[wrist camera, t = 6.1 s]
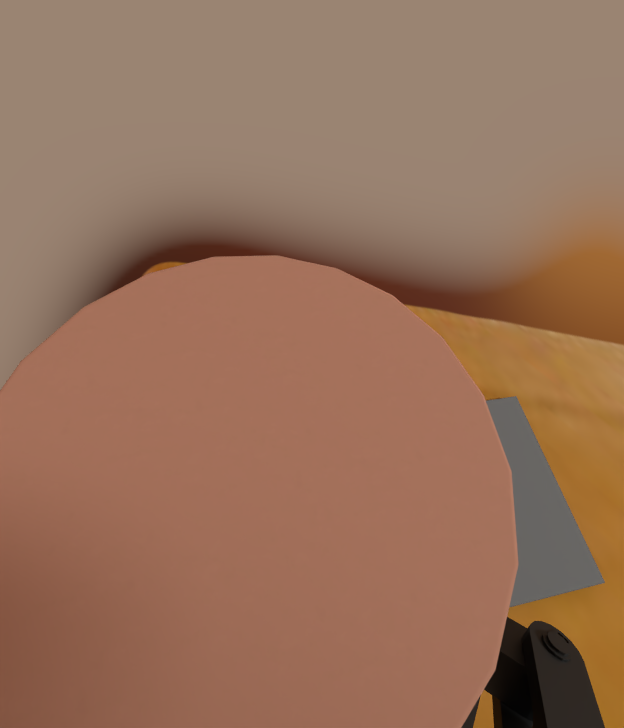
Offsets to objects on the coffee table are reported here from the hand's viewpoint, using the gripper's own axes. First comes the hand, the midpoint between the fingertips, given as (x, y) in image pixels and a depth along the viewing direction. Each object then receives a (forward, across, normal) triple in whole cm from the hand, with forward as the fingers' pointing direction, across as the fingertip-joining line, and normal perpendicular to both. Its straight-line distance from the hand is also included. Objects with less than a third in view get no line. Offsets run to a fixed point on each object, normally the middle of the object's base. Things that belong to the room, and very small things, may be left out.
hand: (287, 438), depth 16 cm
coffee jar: (+4, 0, -8) cm, 9 cm away
